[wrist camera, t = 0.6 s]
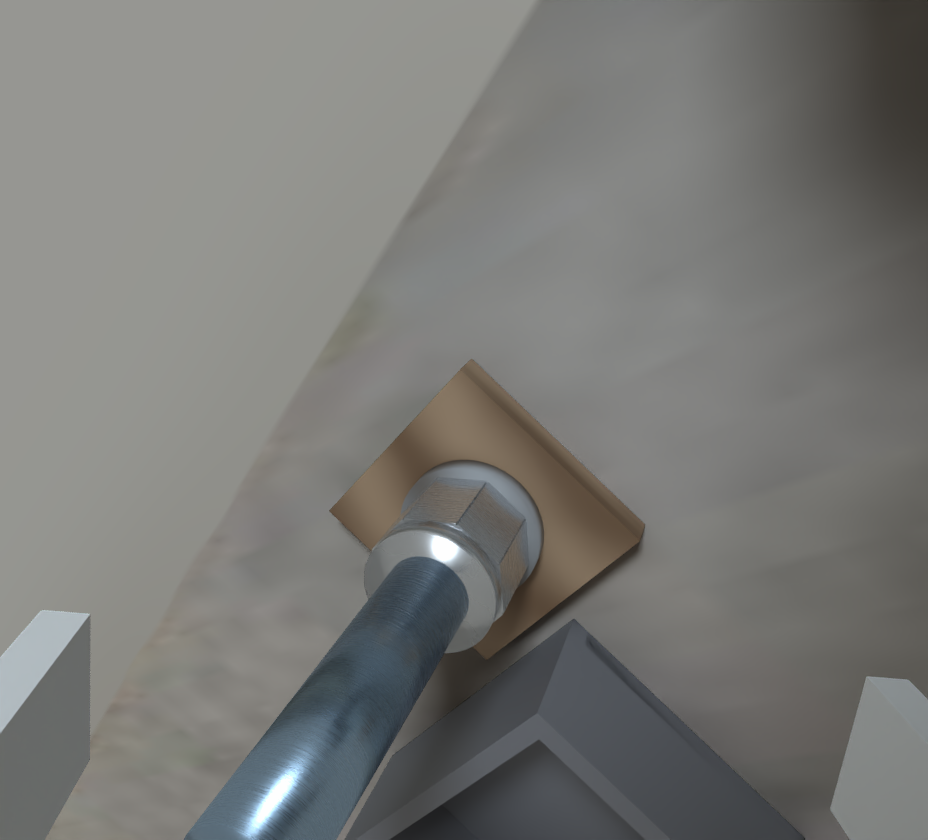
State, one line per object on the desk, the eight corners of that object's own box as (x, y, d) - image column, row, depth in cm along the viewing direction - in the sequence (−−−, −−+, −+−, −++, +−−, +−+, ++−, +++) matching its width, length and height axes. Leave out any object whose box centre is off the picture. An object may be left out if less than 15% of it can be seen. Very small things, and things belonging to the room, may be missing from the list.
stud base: (471, 358, 39) (421, 406, 34) (645, 524, 39) (622, 598, 34) (342, 497, 45) (281, 557, 39) (495, 642, 45) (455, 721, 40)
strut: (459, 454, 38) (209, 758, 22) (553, 544, 39) (373, 913, 22) (387, 527, 41) (117, 843, 25) (474, 609, 41) (263, 979, 25)
